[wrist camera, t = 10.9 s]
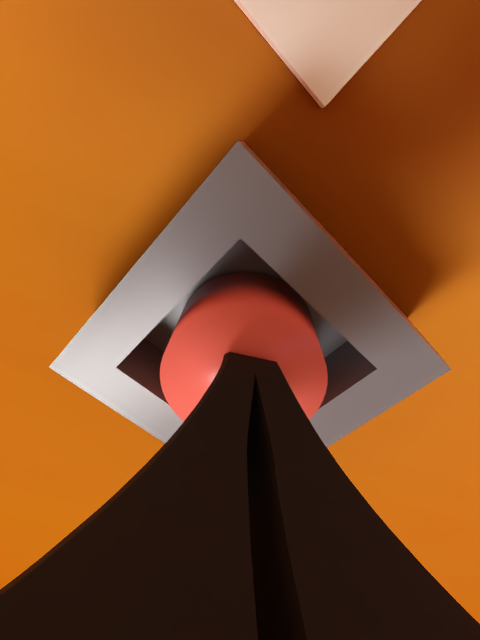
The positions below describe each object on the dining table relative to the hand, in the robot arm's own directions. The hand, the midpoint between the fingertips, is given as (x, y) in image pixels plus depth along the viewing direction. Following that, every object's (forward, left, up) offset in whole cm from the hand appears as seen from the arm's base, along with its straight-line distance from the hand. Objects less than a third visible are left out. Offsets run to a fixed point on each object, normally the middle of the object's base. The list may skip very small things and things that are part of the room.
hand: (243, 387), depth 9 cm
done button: (0, 0, -3) cm, 3 cm away
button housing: (0, 0, -4) cm, 4 cm away
